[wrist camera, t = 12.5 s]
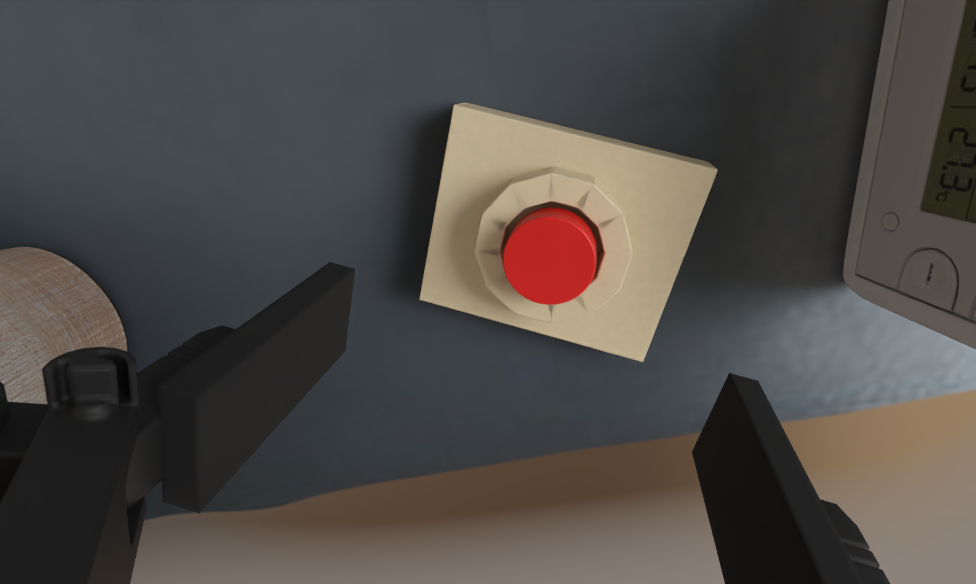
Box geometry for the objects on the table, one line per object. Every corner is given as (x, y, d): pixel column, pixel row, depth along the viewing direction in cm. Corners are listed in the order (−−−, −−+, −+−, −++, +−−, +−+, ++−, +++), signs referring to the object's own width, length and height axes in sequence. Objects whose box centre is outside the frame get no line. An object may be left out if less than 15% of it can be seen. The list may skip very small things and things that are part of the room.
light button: (500, 277, 25) (493, 291, 24) (519, 197, 24) (514, 206, 22) (582, 300, 25) (581, 315, 24) (607, 219, 23) (608, 230, 22)
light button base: (430, 284, 30) (408, 314, 27) (464, 101, 26) (443, 106, 23) (639, 342, 29) (645, 381, 26) (708, 161, 25) (727, 177, 22)
